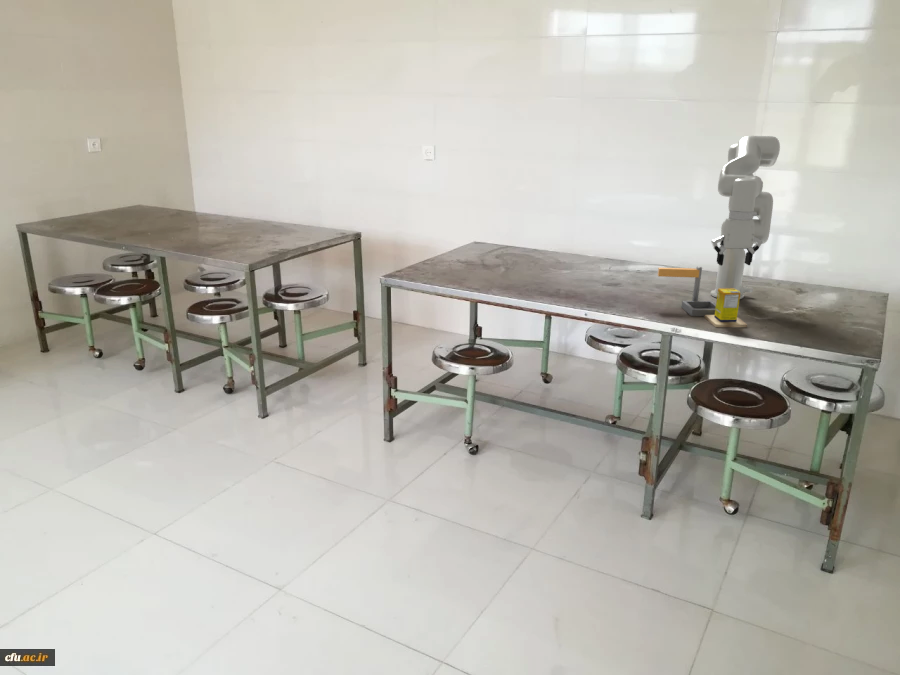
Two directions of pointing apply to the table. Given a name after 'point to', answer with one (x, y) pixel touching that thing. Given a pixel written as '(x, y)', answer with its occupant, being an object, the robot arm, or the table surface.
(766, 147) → the robot arm
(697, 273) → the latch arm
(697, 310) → the socket collar
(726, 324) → the oak board
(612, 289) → the table surface
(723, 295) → the supplement box
